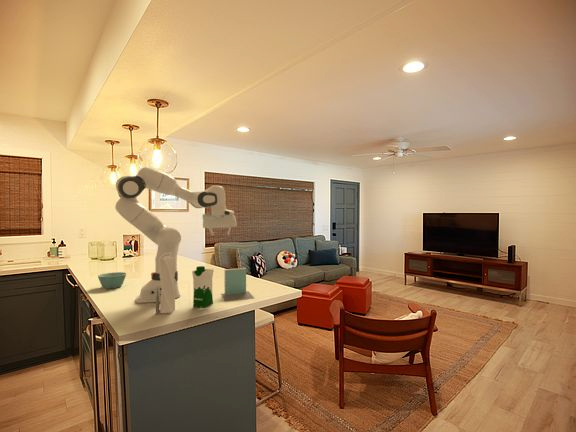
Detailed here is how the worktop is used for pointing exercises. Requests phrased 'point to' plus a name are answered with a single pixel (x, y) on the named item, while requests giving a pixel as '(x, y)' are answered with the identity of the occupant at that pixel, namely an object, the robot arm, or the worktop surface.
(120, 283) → the bowl
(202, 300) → the milk carton
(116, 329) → the worktop surface
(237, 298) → the mat
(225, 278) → the tile
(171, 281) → the skyscraper
